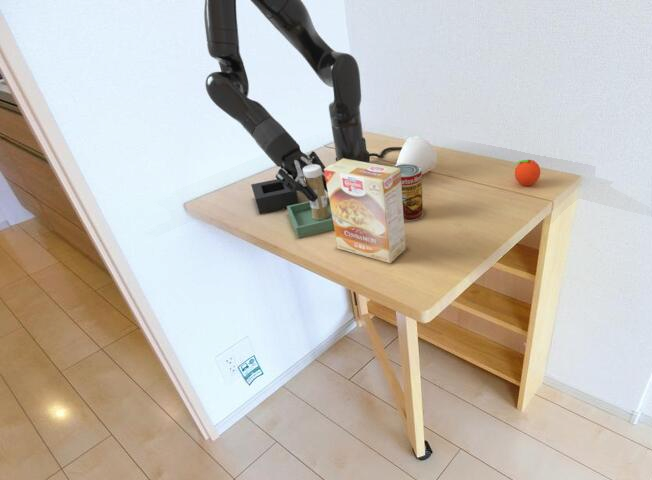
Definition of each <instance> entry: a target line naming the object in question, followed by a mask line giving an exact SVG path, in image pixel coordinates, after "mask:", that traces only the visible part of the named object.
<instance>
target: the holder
mask: <svg viewBox="0 0 652 480" xmlns="http://www.w3.org/2000/svg"><path fill="white" fill-rule="evenodd" d="M290 184H291V183H290ZM291 185H292V184H291ZM292 186H293V185H292ZM251 189H252V193H253V196H254V200H255V203H256V206H257V209H258V214H259V215H263V214H267V213H271V212H277V211H281V210H286V209H287V206H290V205H294V204H299V203H300V202H299V198H298V193H297V191H296V192H295V193H293V192H292V191H291V190H290V189H288V188H287V187H286V186H285V185H284V184H283V183H281V182H280V181H279V180H278V179H277V178H275V179H271V180H267V181H261V182H257V183H251Z"/></svg>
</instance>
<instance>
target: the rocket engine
mask: <svg viewBox="0 0 652 480" xmlns="http://www.w3.org/2000/svg"><path fill="white" fill-rule="evenodd" d="M401 147H402V149H401V150H400V152H399V154H398V157H397V161H396V164H395V165H394V166H397V165H401V164H414V165H418V166H420V167H421V172H422V176H423V175H425V174H426V173H429V172H430V171H431V170H433V169H434V168H435V167H436V166H437V163H438V155H437V152H436V150H435V147H434V146H433V145H432V144H431V143H430V141H428V140H427V139H426V138H424V137H421V136H416V135H414V136H410V137H408V138H407V139H406V140H405V141H404V143H403V144H402V146H401Z"/></svg>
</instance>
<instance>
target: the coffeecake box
mask: <svg viewBox="0 0 652 480" xmlns="http://www.w3.org/2000/svg"><path fill="white" fill-rule="evenodd" d="M325 167H326V168H325V169H324V176H325V179H326V184H327V190H328V192H327V195H328V197H329V201H330V207H331V212H332V218H333V223H334V229H335V230H334V234H335V235H334V236H335V239H336V245H337V249H338V250H341V251H344V252H345V251H346V252H349V253H353V254H356V255H358V256H363V257H366V258H370V259H374V260H377V261H380V262H384V263H386V264H392V262H394V261H395V260H396V259H397V258H398V256H400V255H402V253H404V252H405V251H406V249H407V248H406V235H405V221H404V217H403V202H402V187H401V173H400V168H395V167H394V166H388V165H382V164H378V163H372V162H368V163H366V162H361V161H355V160H349V159H344V158H343V159H341V160H339V161H337V162H336V161H335V162H334V163H332V164H329V165H328V166H325Z"/></svg>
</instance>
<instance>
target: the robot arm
mask: <svg viewBox="0 0 652 480" xmlns="http://www.w3.org/2000/svg"><path fill="white" fill-rule="evenodd" d="M250 2H251V3H252V4H253V5H254V6H255V7H256V8H257V10H258V11H259V12H260V13H261V14H262V15H263V17H265V19H266V20H267V21H268V22H269V23H270V24H271V25H272V26H273V27H274V28H275V30H277V32H278V33H280V34H281V35H282V37H284V39H285V40H286V41H287V42H288V43H289V44H290V45H291V47H293V48H294V49H295V50H296V51H297V52H298V53H299V54H300V55H301V56H302V57H303V59H304V60H305V61H306V62H307V64H308V66H309V67H310V68H311V69H312V70H313V71H314V73H315V74H316V75H317V77H318V78H319V79H320V81H321V82H322V83H323V84H325V85H326V86H328V87H329V88H332V90H333V91H332V92H333V101H331V102H330V103H329V104H328V112H329V119H330V126H331V132H332V138H333V139H332V140H333V144H334V152H335V163H336V162H337V161H339V160H341V159H343V158H344V159H349V160H355V161H361V162H366V163H371V158H370V157H376V158H378V159H381V158H382V157H383V156H384V154H385V153H386V152H388V151H394V150H395V151H401V149H402V147H403V146H389V147H386V148H384V149H383V150H381V153H380V154H378V153H377V152H374V153H371V152H369V151H368V150H367V141H366V138H365V137H364V133H363V124H362V115H361V103H362V87H361V86H362V85H361V73H360V68H359V64H358V62H357V60H356V58H355V57H354V56H353V55H351V54H350V53H347V52H340V51H336V50H334V49H333V48H332V47H330V45H328V43H327V42H326V41H325V40H324V39H323V38H322V37H321V35H320V34H319V33H318V32H317V30H316V28H315V25H314V24H313V23H314V22H313V21H312V18H311V15H310V13H309V11H308V9H307V7H306V5H305V4H304V2H303V1H302V0H250ZM203 10H204V11H203V17H204V18H203V19H204V28H205V39H206V47H207V51H208V54H209V56H210V57H211V58H213V59H214V60H216V61H217V63H218V65H219V68H220V71H213V72H211V73H209V74H208V75H207V76H206V79H205V85H204V86H205V91H206V93H207V95H208V97H209V99H210V100H211V101H212V102H213V103H214V105H216V106H217V107H218V108H219V109H220V110H221V111H223V112H224V113H225V114H227V115H228V116H230V117H231V118H232V119H233V120H235V121H237V123H239V124H240V125H241V126H242V128H243V129H244V130H245V131H246V132H247V133H248V134H249V136H250V137H252V139H253V140H254V142H255V143H256V145H257V146H258V148H260V149H261V150H262V152H264V154H265V155H266V156H267V157H268V158H269V159H270V160H271V161H272V162H273V163H274V164H275V166H277V167H279V169H278V171H277V173H275V179H278V180H279V181H280V182H281V183H283V184H284V185H285V186H286V187H287V188H288V189H290V190H291V191H292V192H293V193H295V192H296V193H297V192H299V193H301V194H302V195H303V196H305V198H306V199H307V200H308V201H309V200H310V201H312V202H315V201H316V200H317V198H318V196H317V195H316V194H315V193H314V192H313V190H312V189H311V188H310V187H309V186H306V181H305V178H304V175H303V168H304V167H305V166H307V165H312V164H317V165H320V166H321V169H322V179H323V185H324V189H325V192H327V193H328V190H327V184H326V179H325V173H324V169H325V168H326V167H327V166H326V165H325V164H324V163H323V161H322V160H321V159H320V157H319V156H318V154H317V153H316V152H315V151H311V152H310V153H308V154H306V153H304V152H303V151H302V149H301V146H300V144H299V143H298V142H297V141H296V140H295V138H293V136H292V135H291V134H290V133H289V132H288V131H287V130H286V128H284V126H283V125H282V124H281V123H280V122H278V120H276V119H275V118H274V117H273V115H272V114H271V113H270V112H269V111H268V110H267V109H266V108H265V106H263V104H262V103H260V102H259V101H257V100H254V99H251V98H249V97H248V96H249V93H250V83H249V78H248V74H247V70H246V68H245V65H244V64H245V63H244V61H243V58H242V55H241V51H240V50H241V48H240V36H239V28H238V26H239V24H238V13H237V0H204V9H203ZM290 183H291V184H292V185H293V186H292V185H291V184H290Z"/></svg>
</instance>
